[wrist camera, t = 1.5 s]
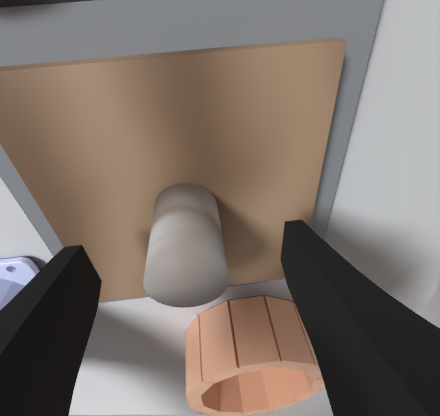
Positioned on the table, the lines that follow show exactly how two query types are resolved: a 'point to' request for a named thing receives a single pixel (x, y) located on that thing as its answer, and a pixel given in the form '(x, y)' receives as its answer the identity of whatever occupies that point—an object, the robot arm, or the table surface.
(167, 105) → the cover board
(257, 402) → the bowl
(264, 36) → the mat
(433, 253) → the table surface
